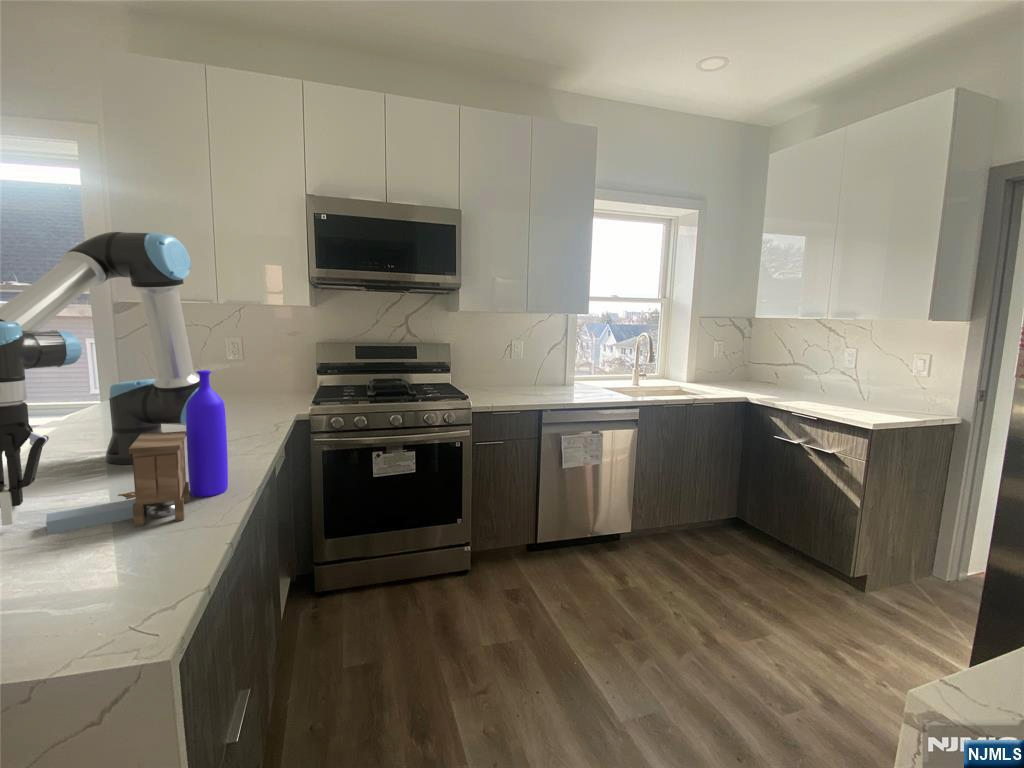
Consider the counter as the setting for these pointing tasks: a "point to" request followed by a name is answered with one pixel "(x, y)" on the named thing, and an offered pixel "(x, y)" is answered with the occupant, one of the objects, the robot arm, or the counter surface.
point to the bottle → (206, 441)
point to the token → (160, 509)
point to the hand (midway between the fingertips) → (10, 522)
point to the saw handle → (128, 495)
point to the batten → (89, 516)
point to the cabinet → (159, 472)
